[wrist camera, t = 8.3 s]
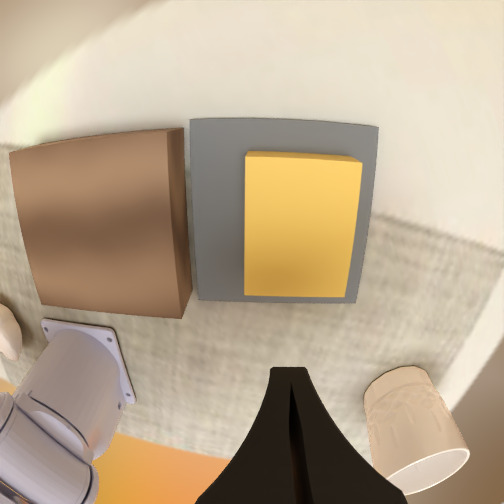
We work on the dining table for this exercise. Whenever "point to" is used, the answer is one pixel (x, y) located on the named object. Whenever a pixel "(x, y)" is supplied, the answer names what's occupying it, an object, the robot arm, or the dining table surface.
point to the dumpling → (9, 334)
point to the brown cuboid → (107, 222)
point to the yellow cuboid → (299, 223)
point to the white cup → (412, 431)
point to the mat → (233, 194)
